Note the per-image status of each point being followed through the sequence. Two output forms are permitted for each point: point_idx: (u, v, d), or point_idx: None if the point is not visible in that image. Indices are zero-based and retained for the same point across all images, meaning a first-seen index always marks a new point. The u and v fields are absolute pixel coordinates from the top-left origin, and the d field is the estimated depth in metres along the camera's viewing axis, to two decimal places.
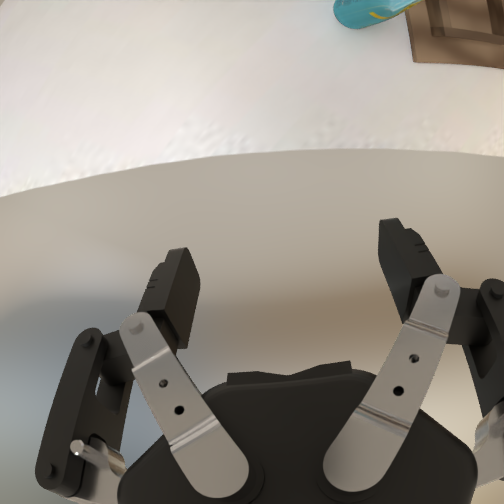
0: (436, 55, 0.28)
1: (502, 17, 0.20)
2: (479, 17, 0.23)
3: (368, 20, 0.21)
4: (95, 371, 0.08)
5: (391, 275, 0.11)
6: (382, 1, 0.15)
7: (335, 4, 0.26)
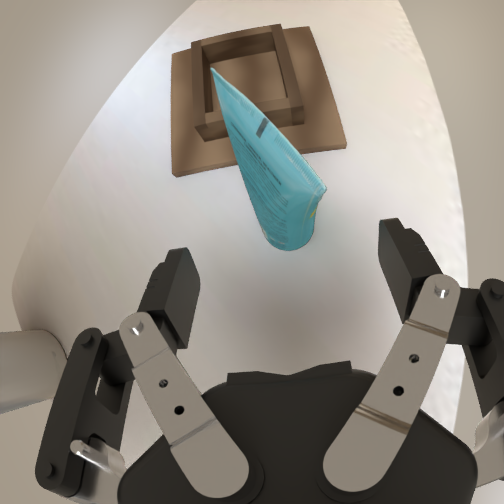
0: (330, 118, 0.29)
1: (247, 37, 0.29)
2: (257, 66, 0.31)
3: None
4: (95, 371, 0.08)
5: (391, 275, 0.11)
6: (300, 202, 0.12)
7: (281, 248, 0.29)
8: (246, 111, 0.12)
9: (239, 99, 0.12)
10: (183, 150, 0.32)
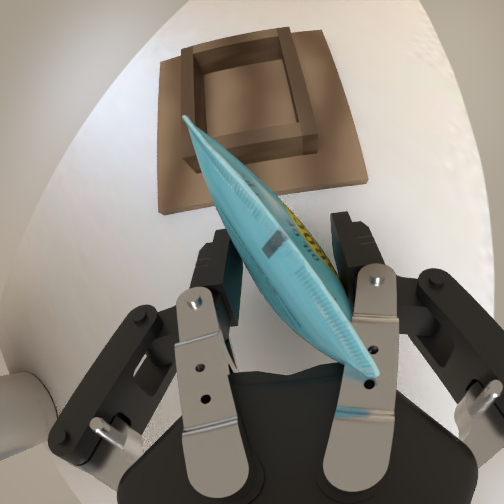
0: (348, 146, 0.24)
1: (248, 43, 0.24)
2: (260, 78, 0.27)
3: None
4: (139, 352, 0.09)
5: (339, 266, 0.12)
6: None
7: None
8: (245, 207, 0.07)
9: (232, 183, 0.07)
10: (171, 184, 0.27)
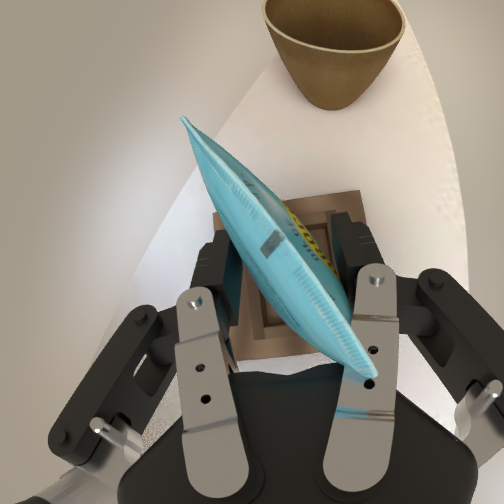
0: None
1: None
2: None
3: None
4: (139, 352, 0.09)
5: (339, 266, 0.12)
6: None
7: None
8: (243, 207, 0.07)
9: (230, 183, 0.07)
10: (238, 341, 0.36)
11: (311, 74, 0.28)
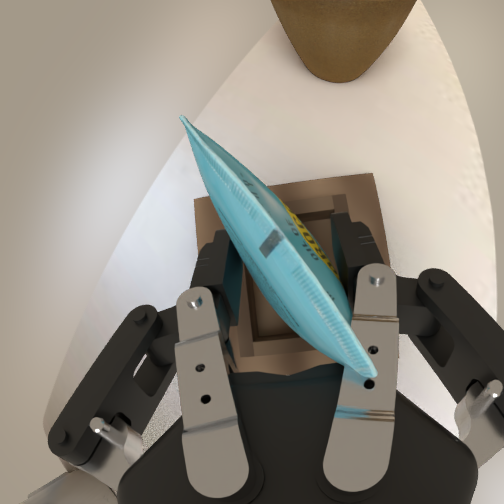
0: None
1: (300, 214, 0.26)
2: None
3: None
4: (139, 352, 0.09)
5: (339, 266, 0.12)
6: (328, 356, 0.08)
7: None
8: (242, 207, 0.07)
9: (229, 183, 0.07)
10: None
11: (315, 29, 0.21)
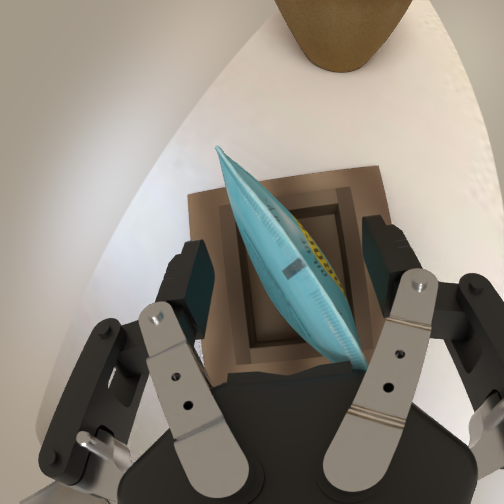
0: None
1: (301, 209, 0.24)
2: None
3: None
4: (110, 363, 0.09)
5: (373, 270, 0.11)
6: None
7: None
8: (270, 235, 0.08)
9: (260, 213, 0.08)
10: (218, 362, 0.27)
11: (314, 12, 0.19)
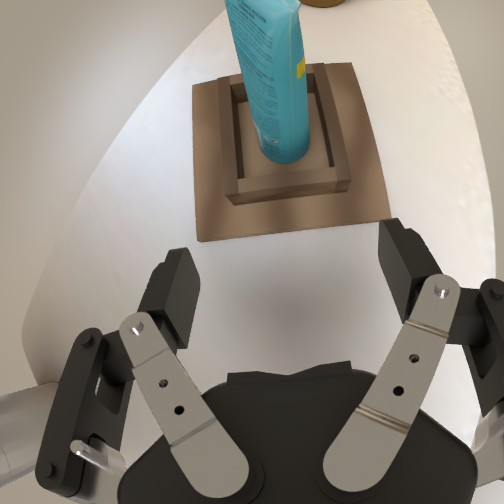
0: (375, 186, 0.27)
1: None
2: None
3: (305, 95, 0.18)
4: (95, 371, 0.08)
5: (391, 275, 0.11)
6: (282, 31, 0.11)
7: (275, 158, 0.27)
8: None
9: None
10: (209, 214, 0.29)
11: None
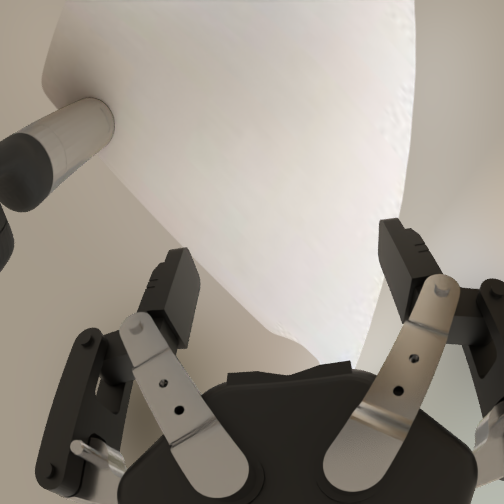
0: None
1: None
2: None
3: None
4: (95, 371, 0.08)
5: (391, 275, 0.11)
6: None
7: None
8: None
9: None
10: None
11: None
